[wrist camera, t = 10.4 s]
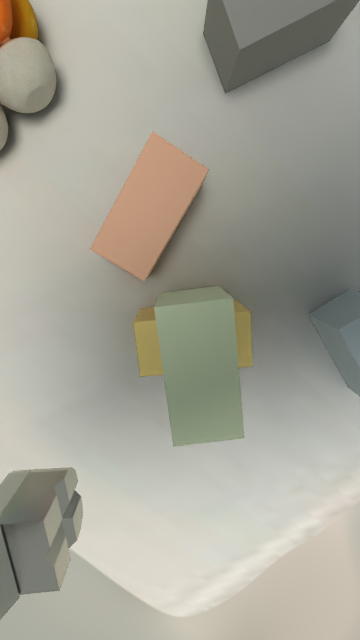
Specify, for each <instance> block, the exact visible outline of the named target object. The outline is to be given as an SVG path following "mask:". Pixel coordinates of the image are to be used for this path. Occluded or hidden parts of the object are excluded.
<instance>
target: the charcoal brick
mask: <svg viewBox="0 0 360 640" xmlns="http://www.w3.org/2000/svg"><path fill="white" fill-rule="evenodd" d="M358 2H359V0H208V3H207V10H206V17H205V24H204V32H203V35H204V37H205V40H206V43H207V45H208V48H209V51H210V54H211V56H212V59H213V62H214V64H215V67H216V70H217V73H218V75H219V78H220V81H221V83H222V86H223V89H224V92H225V93H227V92H229V91H231V90H233V89H235V88H237V87H239V86H241V85H243V84H245V83H247V82H249V81H251V80H253V79H255V78H257V77H259V76H261V75H263V74H265V73H267V72H268V71H270V70H272V69H274V68H276V67H278V66H280V65H282V64H284V63H286V62H288V61H290V60H292V59H294V58H296V57H298V56H300V55H302V54H304V53H306V52H308V51H310V50H312V49H314V48H316V47H318V46H320V45H322V44H324V43H326V42H328V41H329V40H330V39H331V38H332V36H333V35H334V34H335V32H336V31H337V30H338V28H339V27H340V26H341V24H342V23H343V22H344V20H345V19H346V18H347V16H348V15H349V14H350V12H351V11H352V10H353V8H354V7H355V6H356V4H357V3H358Z"/></svg>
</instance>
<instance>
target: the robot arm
mask: <svg viewBox="0 0 360 640" xmlns="http://www.w3.org/2000/svg"><path fill="white" fill-rule="evenodd" d="M77 483H78V479H77V474H76V470H75V469H73V468H72V467H71V468H52V469H34V470H20V471H13V472H11V473H9V474H8V475H7V476H6V478H5V479H4V480H3V482H2V483H1V484H0V619H1V618H2V617H3V616H4V615H5V614H6V613H7V611H8V610H9V609H10V608H11V607H12V606H13V605H14V603H15V602H16V601H17V600H18V599H19V597H20V596H19V595H22V594H31V593H40V592H50V591H60V588H61V585H62V582H63V579H64V576H65V574H66V571H67V568H68V565H69V562H70V554H69V548H70V547H71V546H72V545H73V544H74V543H75V542H76V541H77V539H78V535H79V532H80V529H81V523H82V516H83V506H82V499H81V496H80V495H79V494H78V493H77V492H76V491H75V488H76V485H77Z"/></svg>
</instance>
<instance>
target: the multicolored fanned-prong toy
mask: <svg viewBox="0 0 360 640" xmlns="http://www.w3.org/2000/svg"><path fill="white" fill-rule="evenodd" d="M37 38H38V26H37V20H36V17H35V13H34V11H33V8H32V6H31V4H30V3H29V1H28V0H0V150H1V149H2V148H3V146H4V145H5V143H6V140H7V136H8V123H7V119H6V116H5V113H4V110H3V108H2V105H4V106H6V107H8V108H9V109H11V110H14V111H16V112H20V113H34V112H38V111H40V110H42V109H44V108H45V107H46V106H47V105H48V104H49V103H50V101H51V100H52V98H53V96H54V93H55V89H56V73H55V68H54V64H53V61H52V59H51V56H50V54H49V52H48V50H47V49H46V47H45V46H44V45H43V44H42V43H41V42H39V41H38V40H37Z"/></svg>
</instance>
